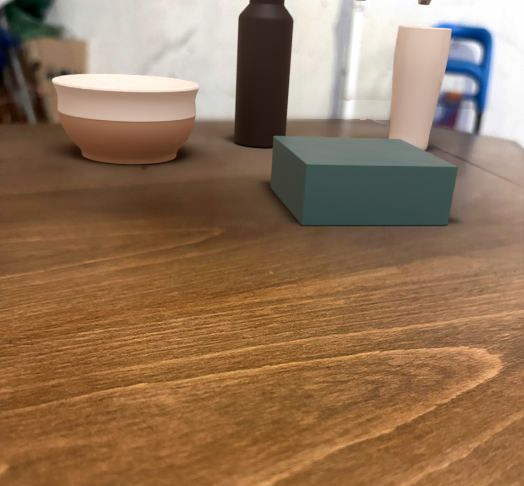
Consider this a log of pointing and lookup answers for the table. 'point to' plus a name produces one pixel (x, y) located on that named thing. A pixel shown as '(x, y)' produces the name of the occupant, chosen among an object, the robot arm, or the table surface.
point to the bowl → (126, 115)
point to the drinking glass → (417, 81)
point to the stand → (361, 181)
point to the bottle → (262, 72)
